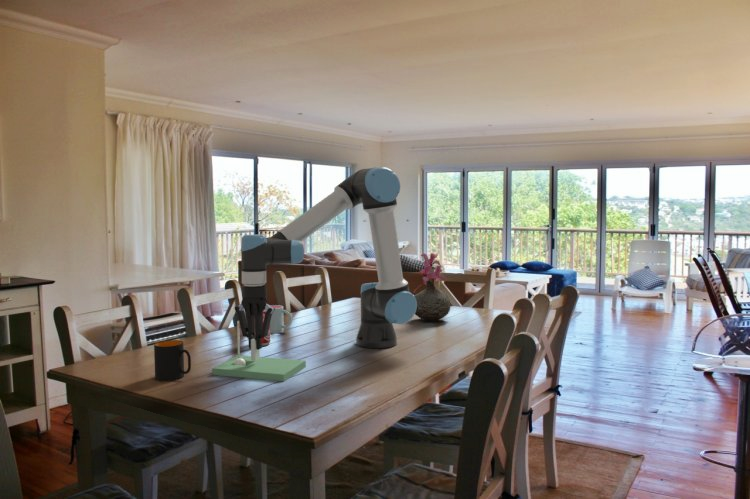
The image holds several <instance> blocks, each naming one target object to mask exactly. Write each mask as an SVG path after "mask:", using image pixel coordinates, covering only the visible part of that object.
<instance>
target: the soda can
mask: <svg viewBox="0 0 750 499" xmlns="http://www.w3.org/2000/svg"><path fill="white" fill-rule="evenodd" d="M265 310H266V309H264V311H263V316H262V326H263V321H264V317H265V313H266V312H265ZM254 338H255V337H254ZM270 343H271V334H270V326H269V330H268V335H267V336H266V337H264V338H262V347H266V346H268V345H270Z"/></svg>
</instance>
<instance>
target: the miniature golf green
mask: <svg viewBox="0 0 750 499" xmlns="http://www.w3.org/2000/svg"><path fill="white" fill-rule="evenodd" d="M247 324H248V323H247ZM236 325H237V326H236V329H237V330H236V331H237V332H236V334H237V337H236V339H237V355H236V356H235V357H233V358H230V359H228V360H226V361H224V362H222V363H220V364H218V365H216V366H214V367H212V368H211V374H212V376H213V375H214V376H222V377H224V376H225V377H234V378H243V379H244V378H245V379H254V380H255V379H256V380H268V381H277V382H285V381H287V380H288V379H290V378H291V377H292V376H295V375H296V374H297V373H299V372H301V371H302V370H303V369H305V368H306V366H307V365H306V364H307V361H306V360H301V359H291V358H289V359H288V358H278V357H264V356H260V359H258V360H256V361H254V360H251V355H241V342H240V341H241V339H240V336H241V334H240V330H241V327H240V322H239V320H237V322H236ZM238 358H242V359H244V360H245V362H246V365H245V366H241V365H234V361H235V360H236V359H238Z"/></svg>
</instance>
